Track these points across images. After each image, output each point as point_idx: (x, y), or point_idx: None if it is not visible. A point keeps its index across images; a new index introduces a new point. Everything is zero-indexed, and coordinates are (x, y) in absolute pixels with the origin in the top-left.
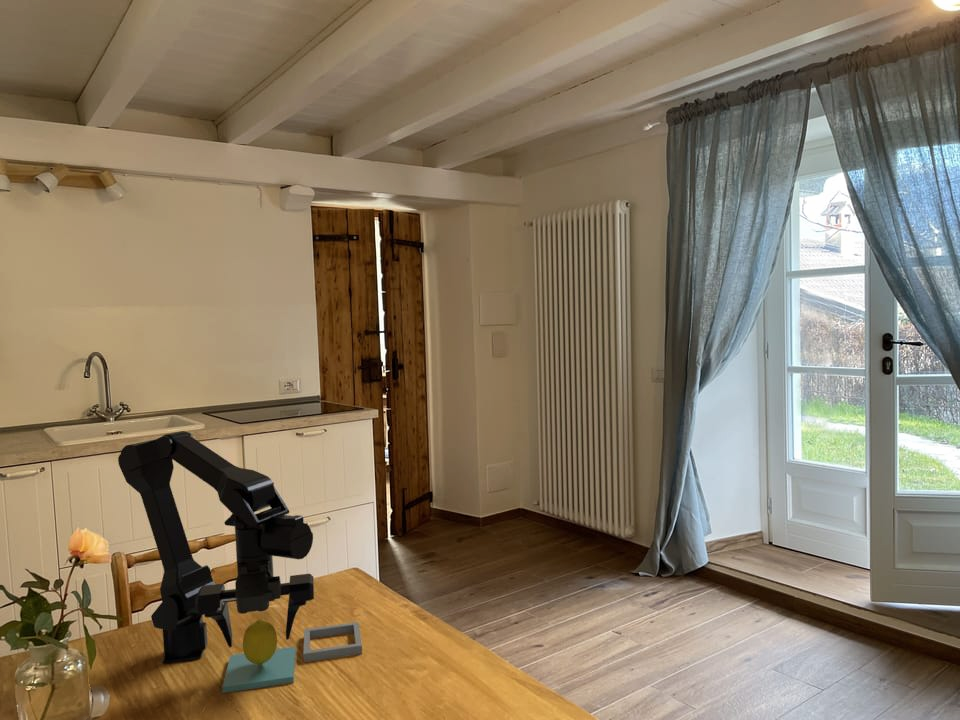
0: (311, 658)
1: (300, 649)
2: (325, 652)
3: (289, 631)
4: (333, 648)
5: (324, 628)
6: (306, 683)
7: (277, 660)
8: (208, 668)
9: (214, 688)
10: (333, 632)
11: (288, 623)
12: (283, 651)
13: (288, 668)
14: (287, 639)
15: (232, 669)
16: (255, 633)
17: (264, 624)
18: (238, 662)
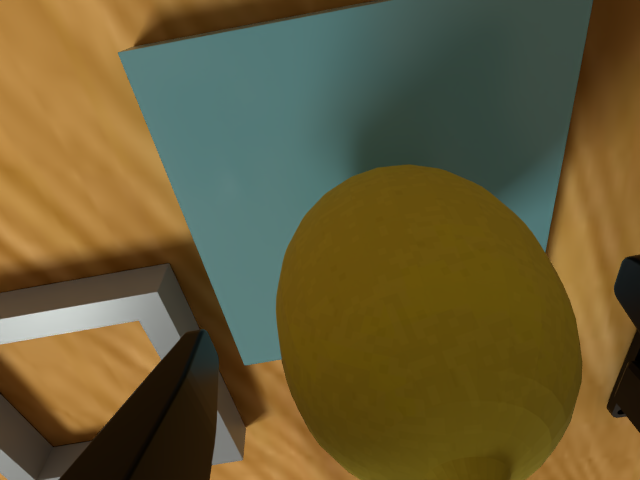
0: (128, 279)
1: (231, 359)
2: (46, 305)
3: (150, 383)
4: (6, 329)
5: None
6: (35, 22)
7: None
8: (617, 250)
9: (613, 43)
10: None
11: (115, 462)
12: None
13: (199, 167)
14: (196, 330)
15: (526, 192)
16: (485, 314)
17: (399, 444)
18: None
